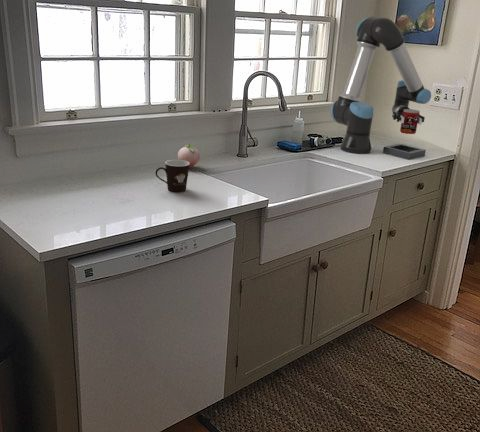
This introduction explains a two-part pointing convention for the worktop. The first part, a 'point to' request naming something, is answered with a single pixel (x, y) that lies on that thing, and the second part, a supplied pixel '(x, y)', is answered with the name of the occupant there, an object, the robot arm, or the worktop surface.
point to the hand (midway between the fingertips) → (411, 121)
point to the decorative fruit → (189, 155)
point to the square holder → (404, 151)
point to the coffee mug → (176, 175)
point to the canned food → (409, 121)
